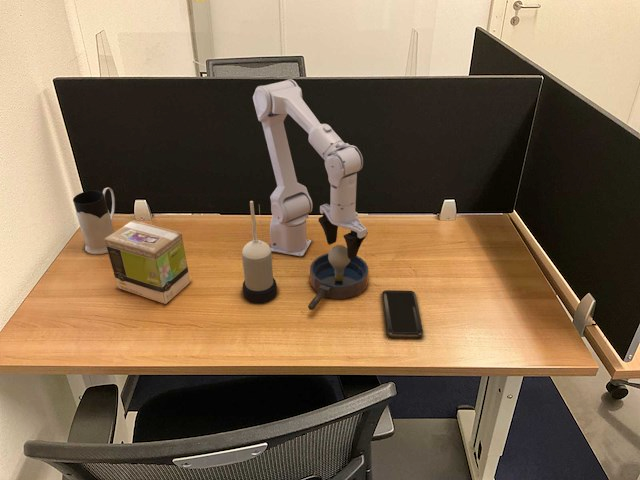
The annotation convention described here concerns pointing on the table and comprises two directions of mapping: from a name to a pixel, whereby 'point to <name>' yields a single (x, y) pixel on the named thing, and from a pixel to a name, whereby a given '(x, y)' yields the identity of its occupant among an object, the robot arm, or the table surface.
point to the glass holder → (94, 219)
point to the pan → (352, 277)
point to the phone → (401, 314)
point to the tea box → (148, 260)
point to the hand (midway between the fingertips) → (341, 249)
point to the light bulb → (338, 260)
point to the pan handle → (319, 296)
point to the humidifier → (258, 268)
